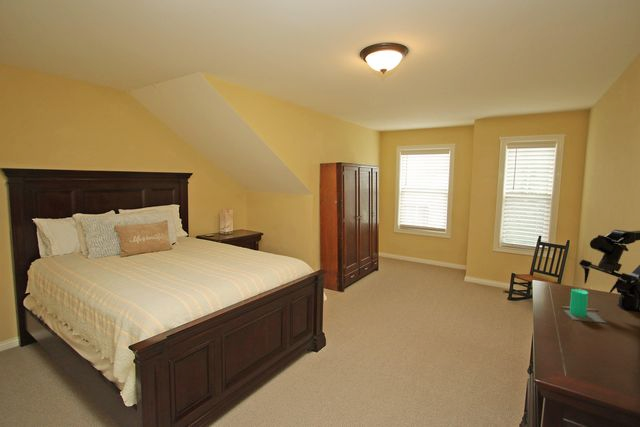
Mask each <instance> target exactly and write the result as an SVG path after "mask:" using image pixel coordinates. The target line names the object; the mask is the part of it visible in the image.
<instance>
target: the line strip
mask: <svg viewBox="0 0 640 427" xmlns="http://www.w3.org/2000/svg"><path fill="white" fill-rule="evenodd" d="M561 308H562V309H568V310H570V306H569V305H568V306H566V305H561ZM587 311H589V312H590V311H593V312H599V310H598V308H590V307H589V308H588V307H587Z"/></svg>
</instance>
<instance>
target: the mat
mask: <svg viewBox="0 0 640 427" xmlns="http://www.w3.org/2000/svg"><path fill="white" fill-rule="evenodd" d="M562 311H563V312H564V313H565V314H566V315H567V316H568V317H569V318H570V319H571V320H572V321H579V322H581V321H582V322H589V323H601V324H607V321H605V319H603V318H602V317H600V316H599V315H598V314H597V313H595V312H590V311H587V315H586V316H584V317H582V316H576V315H573V314H571V313H570V309H568V310H566V309H563V310H562Z"/></svg>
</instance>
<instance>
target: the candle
mask: <svg viewBox="0 0 640 427" xmlns="http://www.w3.org/2000/svg"><path fill="white" fill-rule="evenodd" d="M588 302H589V292H588V291H587V290H584V289H581V288H578V289H577V288H576V289H574V288H572V289H571V290H570V302H569V307H570V309H569V311H570V313H571V314H573V315H576V316H582V317H584V316H586V315H587V312H588V310H587V308H588V304H589V303H588Z"/></svg>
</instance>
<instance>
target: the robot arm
mask: <svg viewBox="0 0 640 427" xmlns="http://www.w3.org/2000/svg"><path fill="white" fill-rule="evenodd" d="M637 241H640V230H621V229H613V230H611V232H609V233H608V234H606V235H600V234H598V235H597V237H594V238H593V239H591V240H590V242H589V246H590V248H591V249H593V250H595V251H597V252H600V253H602V254H603V256H602V257H601V259H600V261H599V262H598V265H596V264H592V263H593V262H592V261H588V260H586V259H581V260H580V261H579V264H578V265H579V266H581V269H583V270H584V281H583V283H584V285H585V284H586V283H587V281H588V278H589V274H590V272H591V271H590V269H592V270H593V269H594V270H595V271H599V272H602V273H605V274H606V275H611V276H614V277H616V278H617V279H616V281H615V283H614V285H612V288H610V290H609V292H608V293H609V294H612V293H613V291H614V290H616V293H618V294H620V296H619V297H618V303H617V306H619V307H620V308H621V309H623V310H624V311H631V312H640V264H639V265H637V267H636V268H635V269H634V270H633V271H632V272H631V273H625V272H621V273H619V272H620V270H621V267H622V266H623V264H622V263H619V262H620V259H622V258H621V257H622V255H623V253H624V251H625V252H629V249H628V247H627V245H631V244H634V243H635V242H637Z"/></svg>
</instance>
